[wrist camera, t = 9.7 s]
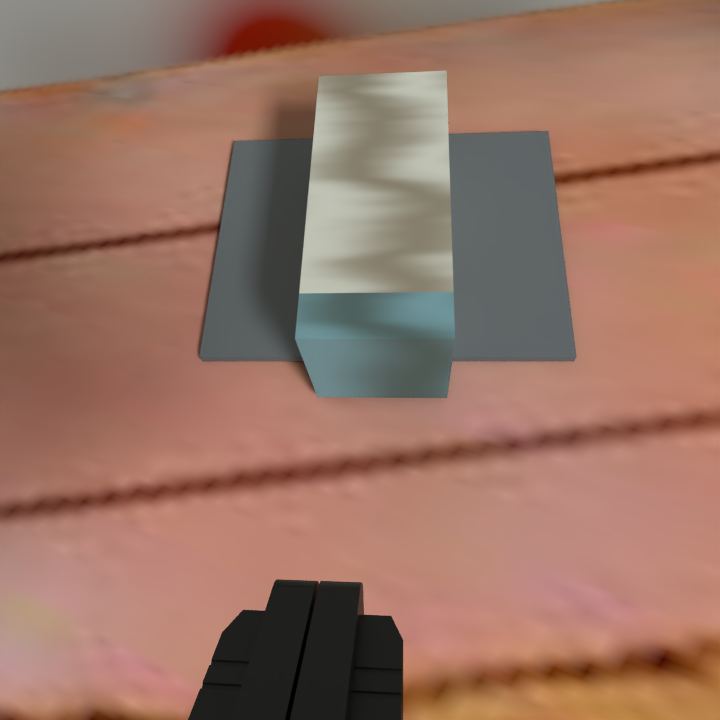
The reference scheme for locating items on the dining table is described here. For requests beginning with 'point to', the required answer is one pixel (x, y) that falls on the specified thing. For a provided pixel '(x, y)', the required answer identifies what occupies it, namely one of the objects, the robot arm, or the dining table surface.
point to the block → (378, 239)
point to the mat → (469, 252)
